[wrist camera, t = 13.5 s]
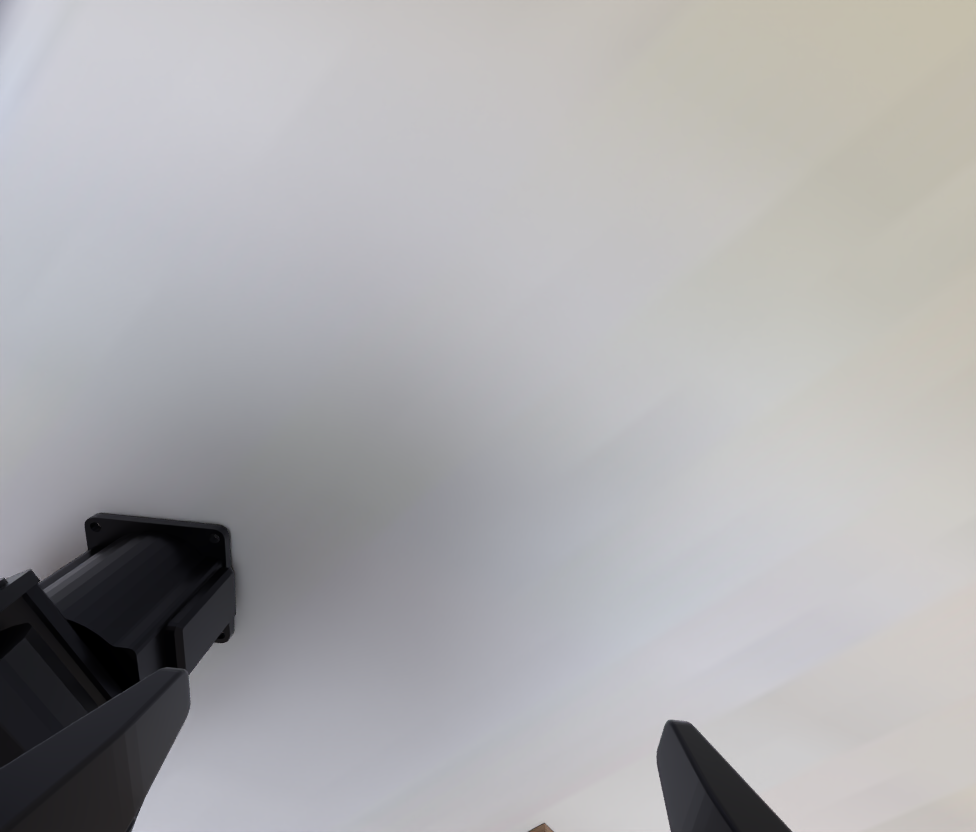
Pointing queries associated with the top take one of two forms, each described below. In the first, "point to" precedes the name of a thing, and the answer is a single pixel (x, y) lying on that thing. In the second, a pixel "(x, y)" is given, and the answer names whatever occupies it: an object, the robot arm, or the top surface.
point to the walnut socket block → (542, 829)
